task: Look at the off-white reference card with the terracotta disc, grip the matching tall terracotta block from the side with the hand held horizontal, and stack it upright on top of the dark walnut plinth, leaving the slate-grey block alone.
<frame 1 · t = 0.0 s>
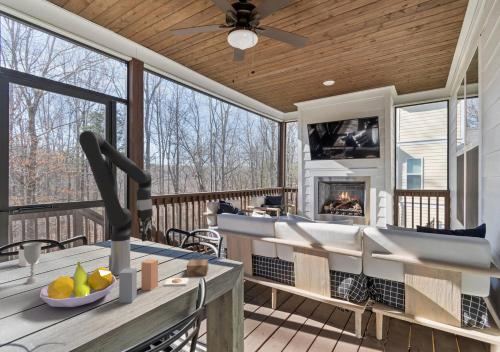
hand: (146, 239, 142), 17 cm above the table, tool pointing down, fingers open, 8 cm apart
grey block: (128, 300, 110), on the table
terracotta block: (149, 287, 122), on the table
chalice: (32, 282, 128), on the table
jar: (28, 264, 154), on the table
reference card: (176, 282, 128), on the table
fruit bowl: (81, 298, 112), on the table
walnut plinth: (197, 271, 142), on the table
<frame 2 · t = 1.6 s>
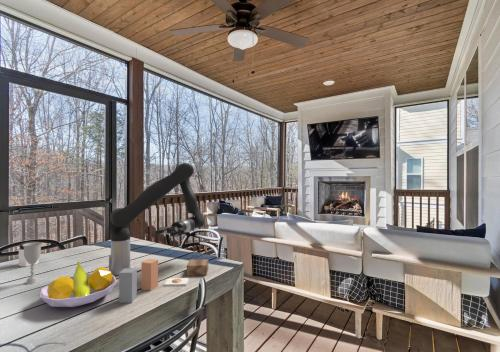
hand: (163, 233, 132), 22 cm above the table, tool horizontal, fingers open, 8 cm apart
nothing on the table moved.
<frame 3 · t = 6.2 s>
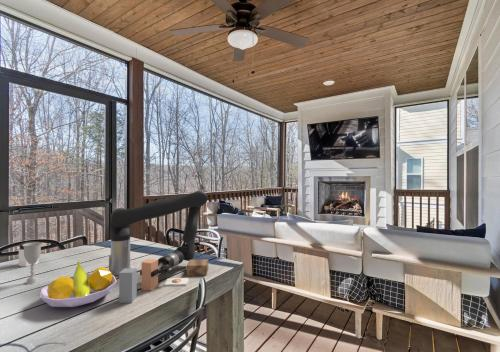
hand: (146, 274, 120), 7 cm above the table, tool horizontal, fingers closed on terracotta block, 5 cm apart
terracotta block: (149, 287, 122), on the table, touching gripper
everything else where it was.
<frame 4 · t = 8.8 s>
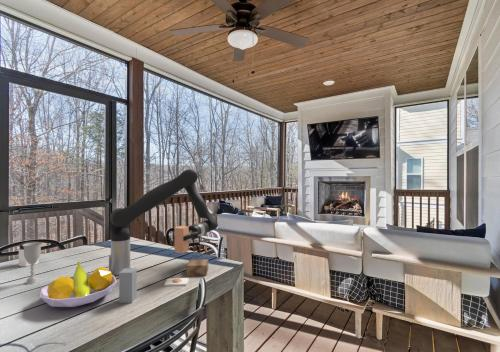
hand: (178, 238, 132), 20 cm above the table, tool horizontal, fingers closed on terracotta block, 5 cm apart
terracotta block: (181, 251, 135), point 13 cm above the table, touching gripper
everything else where it was.
when the fingers open (13 cm above the table, at t = 11.5 s): terracotta block drops 1 cm, resting on walnut plinth.
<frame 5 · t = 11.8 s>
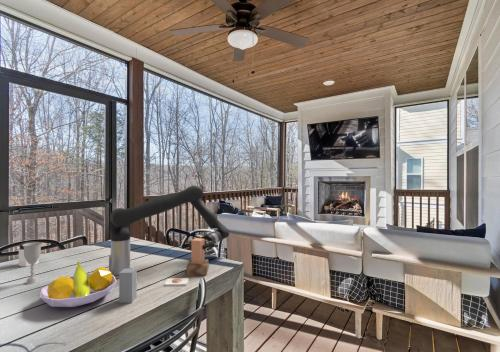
hand: (196, 247, 140), 13 cm above the table, tool horizontal, fingers open, 7 cm apart
terracotta block: (198, 262, 142), point 5 cm above the table, touching walnut plinth
everything else where it was.
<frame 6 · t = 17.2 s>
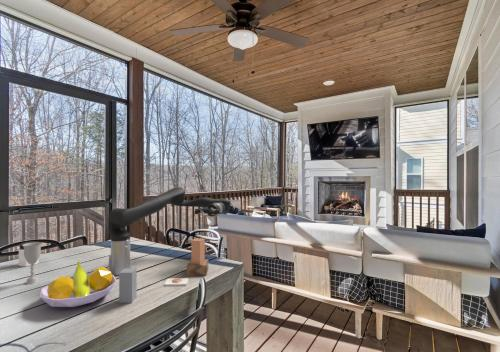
hand: (202, 212, 150), 30 cm above the table, tool horizontal, fingers open, 8 cm apart
nothing on the table moved.
at the end: terracotta block 0.0 cm off-centre on the walnut plinth, point 5.0 cm above the walnut plinth's base; terracotta block tilted 0°; grey block moved 0.0 cm from its start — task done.
